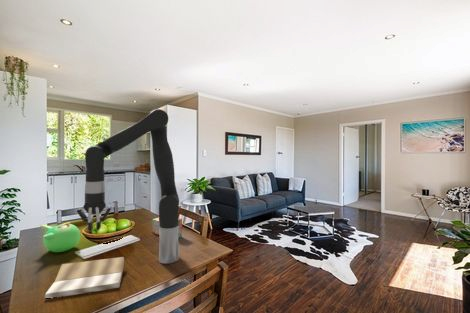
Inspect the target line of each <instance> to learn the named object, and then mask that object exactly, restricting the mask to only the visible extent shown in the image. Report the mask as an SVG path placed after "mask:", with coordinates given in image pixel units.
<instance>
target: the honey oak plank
mask: <svg viewBox="0 0 470 313" xmlns="http://www.w3.org/2000/svg"><path fill="white" fill-rule="evenodd" d="M124 264H125V257H124V256H120V257H111V258H103V259H102V258H101V259H94V260H87V261H85V260H84V261H78V262H71V263H70V262H69V263H68V262H67V263H61V266H60V267H59V271H58V272H57V276H56V277H55V281H54V282H57V281H64V280H71V279H78V278H85V277H92V276H99V275H106V274H113V273H120V272H122V273H123V271H124Z"/></svg>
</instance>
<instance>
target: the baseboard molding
mask: <svg viewBox="0 0 470 313" xmlns="http://www.w3.org/2000/svg"><path fill="white" fill-rule="evenodd" d="M121 238H122V237H121ZM139 241H141V239H140V237H136V236H134V235H132V234H129V235H126V236H123V238H122V239H120V240H118V241H115V242H111V243H108V244H103V243H99V244H95V245H92V246H90V247H86V248H83V249H80V250H77V251H76V250H75V251H74V254H75V255H76V256H78V257H79V258H80V259H82V260H86V259H90V258H93V257H96V256H98V255H101V254H104V253H107V252H110V251H114V250H116V249H119V248H122V247H124V246H127V245H130V244H133V243H136V242H139Z"/></svg>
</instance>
